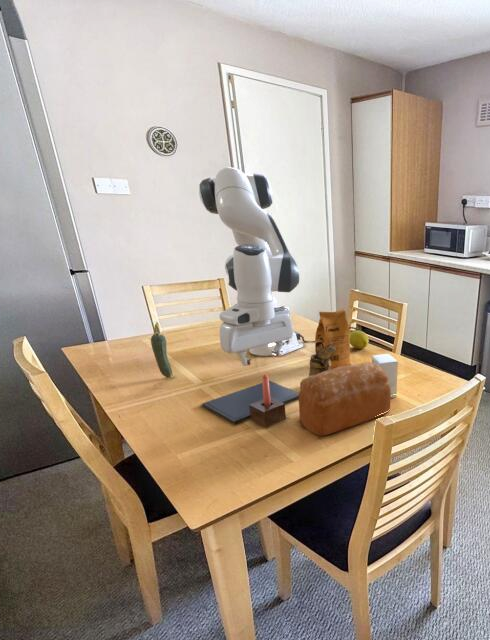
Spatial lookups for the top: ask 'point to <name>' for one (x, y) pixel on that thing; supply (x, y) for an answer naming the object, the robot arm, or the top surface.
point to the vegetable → (161, 352)
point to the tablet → (247, 401)
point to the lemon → (358, 339)
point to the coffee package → (334, 336)
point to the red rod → (266, 390)
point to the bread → (343, 397)
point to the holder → (267, 412)
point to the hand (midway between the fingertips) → (261, 360)
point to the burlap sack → (321, 360)
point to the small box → (388, 370)
